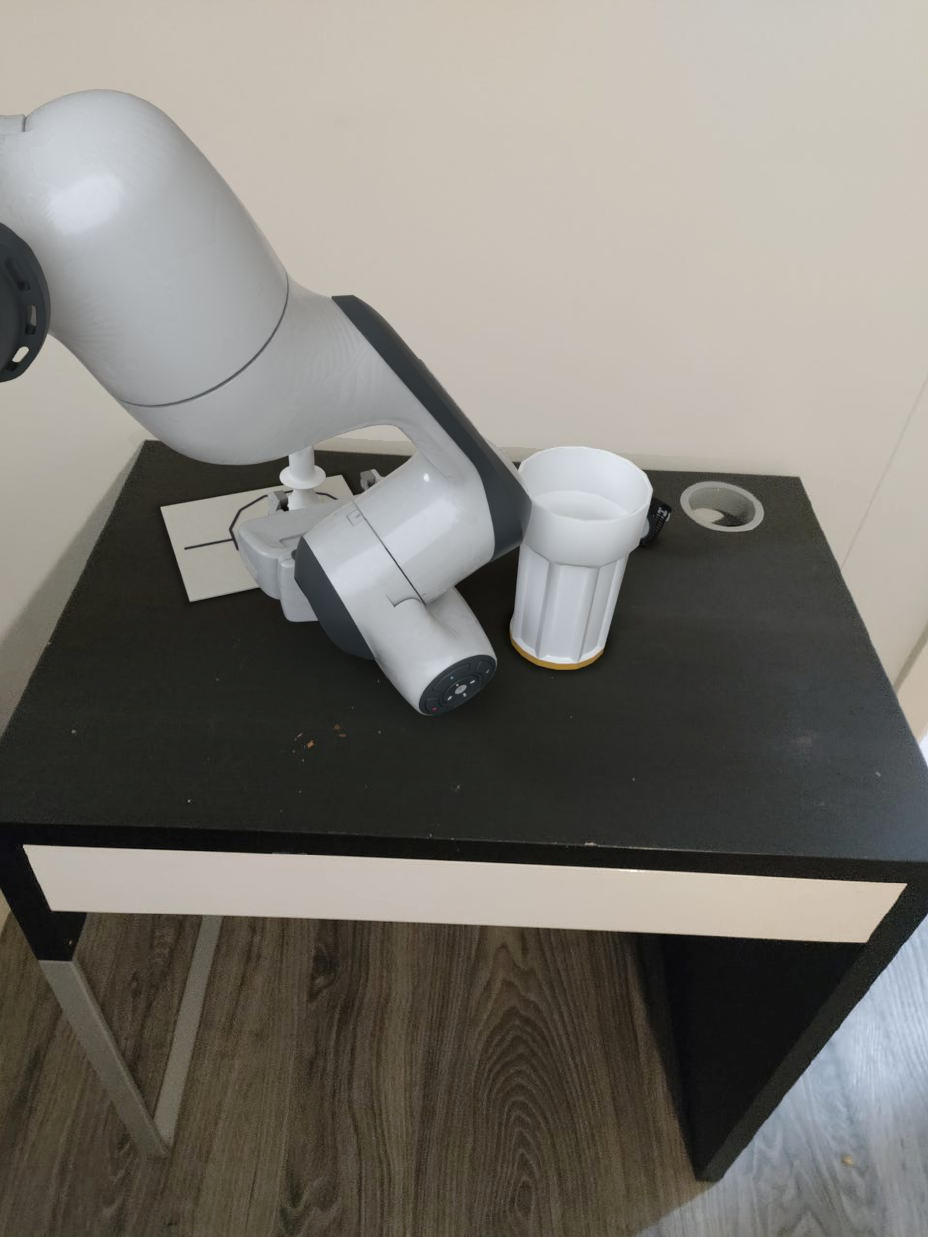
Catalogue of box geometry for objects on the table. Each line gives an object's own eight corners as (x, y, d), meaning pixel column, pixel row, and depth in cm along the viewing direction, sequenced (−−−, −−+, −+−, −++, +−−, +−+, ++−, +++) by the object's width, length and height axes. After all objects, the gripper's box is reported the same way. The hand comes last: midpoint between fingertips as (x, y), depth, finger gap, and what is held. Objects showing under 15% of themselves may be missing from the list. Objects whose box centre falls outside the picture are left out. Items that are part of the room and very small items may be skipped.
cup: (615, 603, 92) (649, 451, 80) (619, 685, 83) (658, 529, 72) (500, 591, 92) (518, 438, 80) (493, 672, 83) (512, 514, 72)
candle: (339, 508, 100) (336, 409, 92) (313, 534, 97) (307, 433, 89) (297, 493, 102) (290, 395, 94) (269, 519, 98) (260, 418, 90)
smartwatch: (616, 534, 100) (624, 496, 97) (658, 526, 102) (667, 488, 98) (634, 557, 97) (643, 518, 94) (677, 549, 99) (687, 510, 95)
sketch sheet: (190, 602, 88) (189, 599, 88) (160, 508, 99) (160, 506, 98) (389, 559, 95) (389, 557, 94) (341, 476, 105) (341, 473, 105)
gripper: (485, 513, 83) (419, 437, 92) (264, 569, 75) (215, 481, 84) (480, 568, 87) (418, 490, 96) (270, 626, 80) (223, 536, 89)
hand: (322, 486), depth 90 cm, fingers open, 8 cm apart
